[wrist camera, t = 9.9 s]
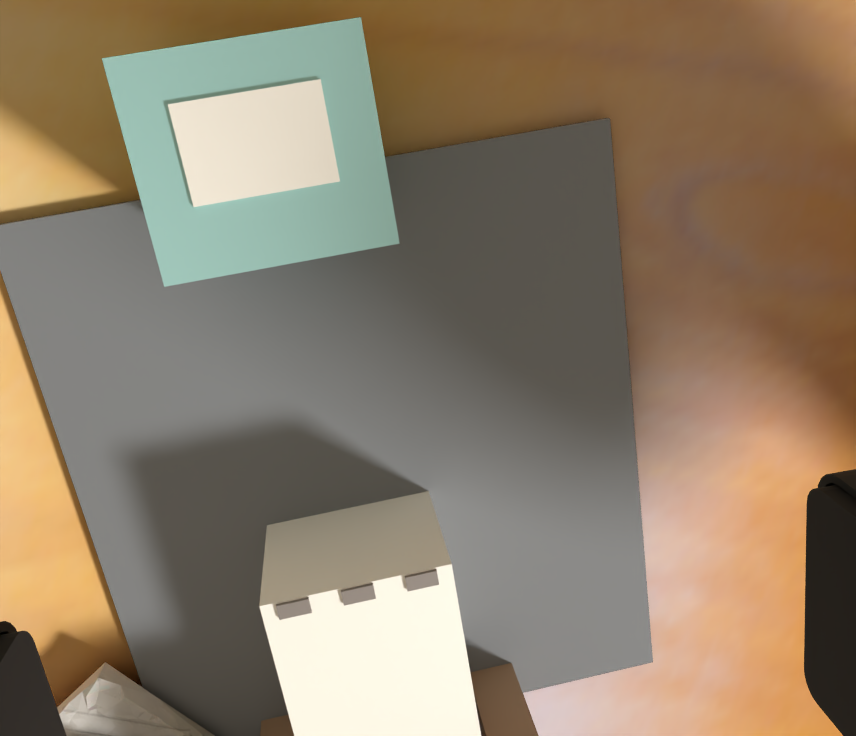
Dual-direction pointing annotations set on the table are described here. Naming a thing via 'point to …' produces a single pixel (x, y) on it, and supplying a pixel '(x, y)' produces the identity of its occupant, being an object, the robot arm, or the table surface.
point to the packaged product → (121, 710)
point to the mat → (357, 414)
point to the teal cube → (255, 149)
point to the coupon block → (376, 630)
